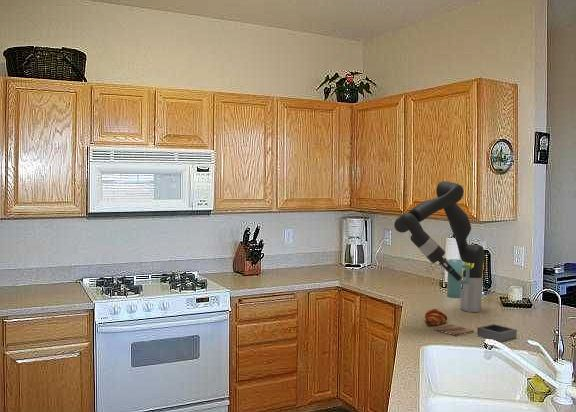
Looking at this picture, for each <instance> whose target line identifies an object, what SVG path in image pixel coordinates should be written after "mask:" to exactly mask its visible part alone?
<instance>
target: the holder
mask: <svg viewBox="0 0 576 412" xmlns="http://www.w3.org/2000/svg"><path fill="white" fill-rule="evenodd" d="M476 328H477V333H476V334H477V335H478V336H477V335H476V336H477V337H480V336H481V338H485V339H487V338H488V340H491V339H494V340H493V341H495V340H497V341H496V342H498V341H499V343H503V342H507V341H510V340H513V339H517V337H518V336H517V333H518V330H517V329H515V328H513V327H512V328H511V327H507V326H502V325H499V324H495V323H491V324H487V325H483V326H479V327H476Z"/></svg>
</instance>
